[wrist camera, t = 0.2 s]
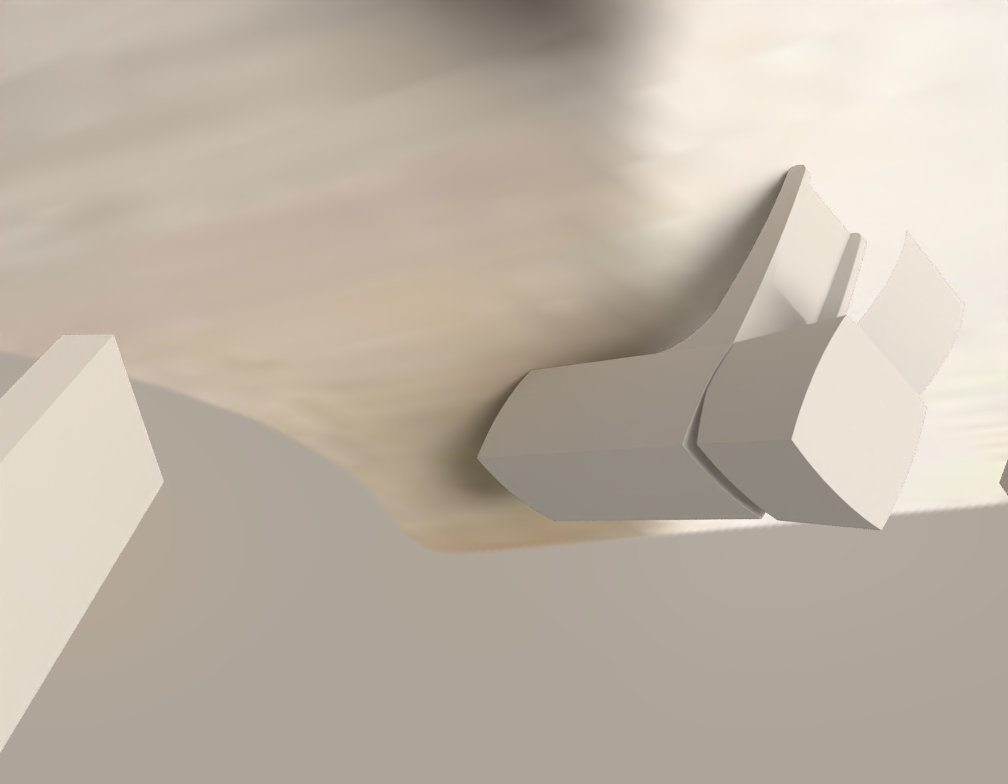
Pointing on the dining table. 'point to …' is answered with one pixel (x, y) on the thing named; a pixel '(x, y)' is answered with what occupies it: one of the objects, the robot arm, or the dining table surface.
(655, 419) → the grey angular branched block
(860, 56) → the dining table surface
